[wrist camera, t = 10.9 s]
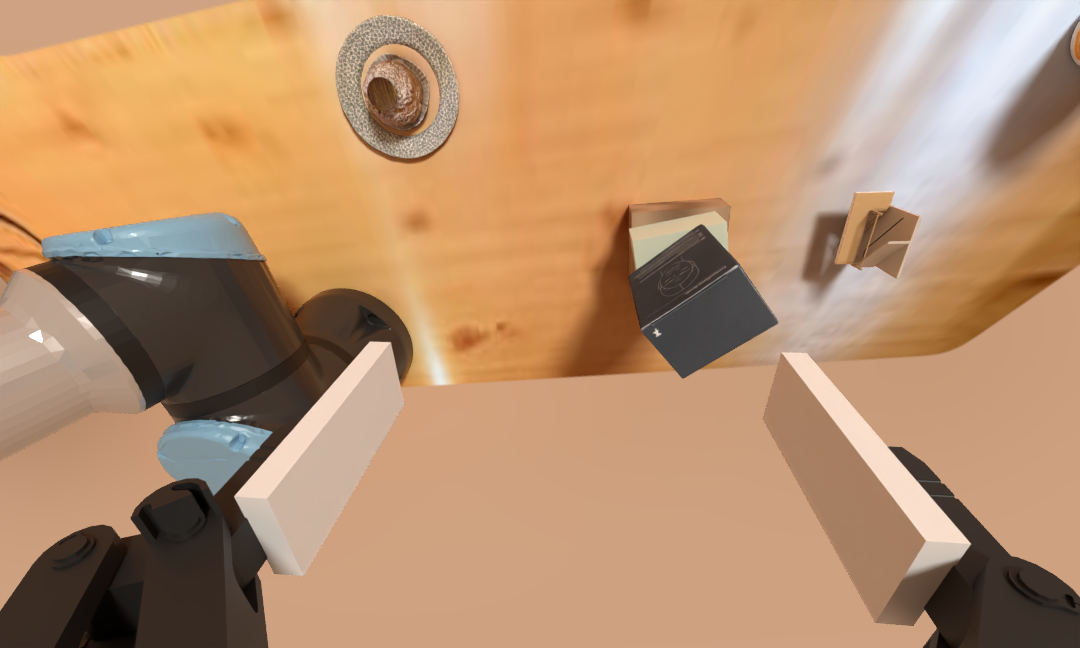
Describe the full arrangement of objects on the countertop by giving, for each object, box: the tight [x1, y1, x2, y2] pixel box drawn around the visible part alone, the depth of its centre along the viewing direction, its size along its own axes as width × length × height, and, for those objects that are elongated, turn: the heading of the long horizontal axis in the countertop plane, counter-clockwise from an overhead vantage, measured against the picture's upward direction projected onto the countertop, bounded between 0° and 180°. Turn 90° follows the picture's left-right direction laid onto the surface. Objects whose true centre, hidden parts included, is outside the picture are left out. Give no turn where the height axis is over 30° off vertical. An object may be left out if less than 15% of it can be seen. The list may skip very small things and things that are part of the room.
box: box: [628, 224, 779, 378], centre depth 34 cm, size 8×6×11 cm
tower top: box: [629, 211, 728, 271], centre depth 41 cm, size 8×8×4 cm
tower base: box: [629, 198, 731, 299], centre depth 44 cm, size 9×9×4 cm
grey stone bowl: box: [336, 15, 459, 159], centre depth 40 cm, size 12×12×5 cm
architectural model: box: [834, 191, 922, 279], centre depth 39 cm, size 3×7×7 cm, turn 3°
